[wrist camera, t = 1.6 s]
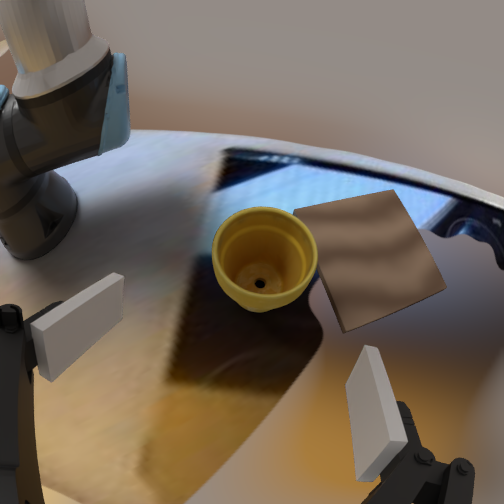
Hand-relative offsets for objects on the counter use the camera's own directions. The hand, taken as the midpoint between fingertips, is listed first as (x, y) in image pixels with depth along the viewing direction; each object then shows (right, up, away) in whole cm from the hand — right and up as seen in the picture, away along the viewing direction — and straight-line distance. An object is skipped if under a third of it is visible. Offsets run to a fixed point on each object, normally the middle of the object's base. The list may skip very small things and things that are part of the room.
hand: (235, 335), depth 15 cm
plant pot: (+2, 0, +23) cm, 23 cm away
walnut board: (+18, +4, +26) cm, 32 cm away
